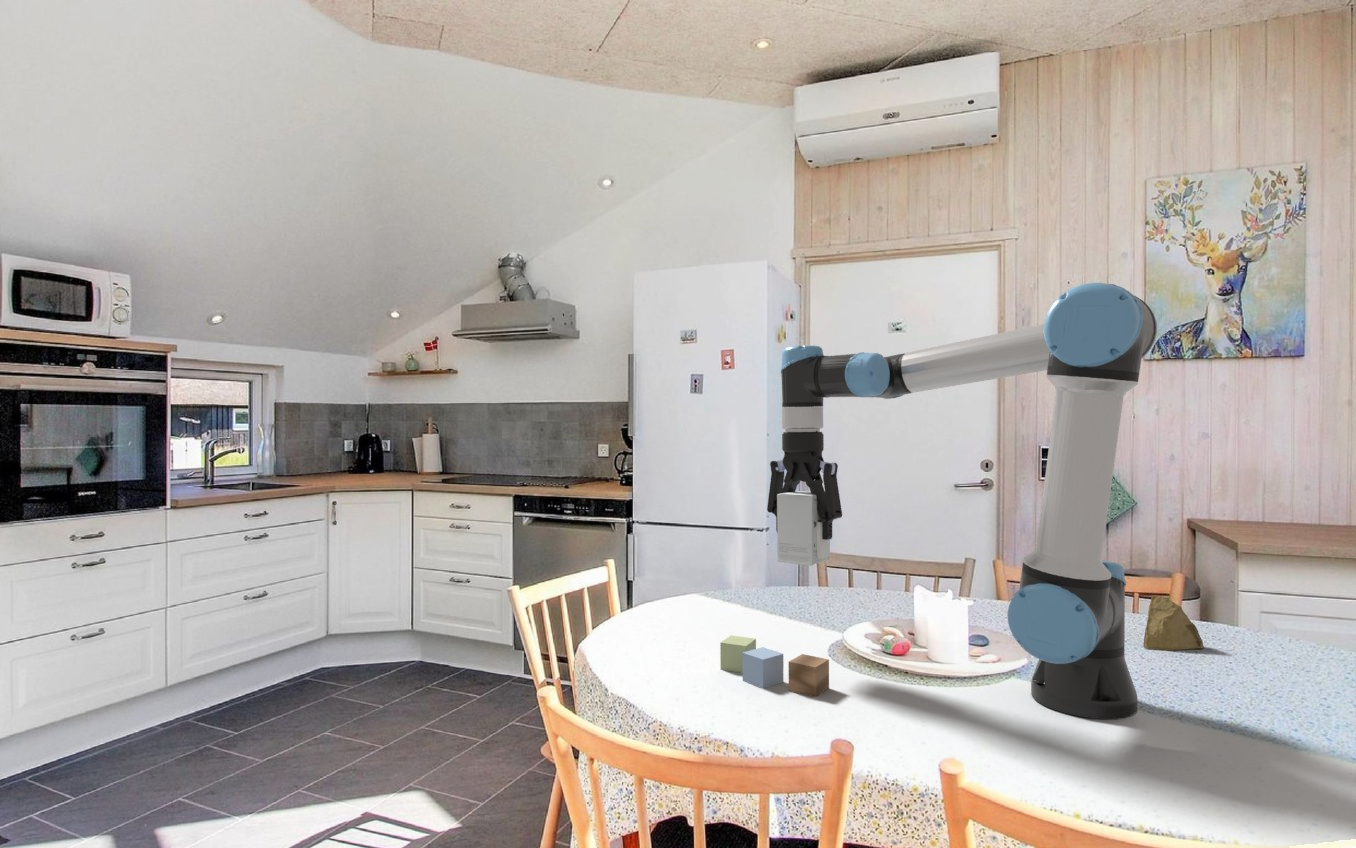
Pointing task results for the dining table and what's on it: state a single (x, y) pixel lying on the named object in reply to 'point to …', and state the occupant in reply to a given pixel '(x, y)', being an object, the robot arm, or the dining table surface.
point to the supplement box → (797, 528)
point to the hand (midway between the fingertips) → (803, 554)
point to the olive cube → (735, 652)
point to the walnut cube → (809, 675)
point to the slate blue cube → (762, 667)
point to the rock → (1169, 627)
